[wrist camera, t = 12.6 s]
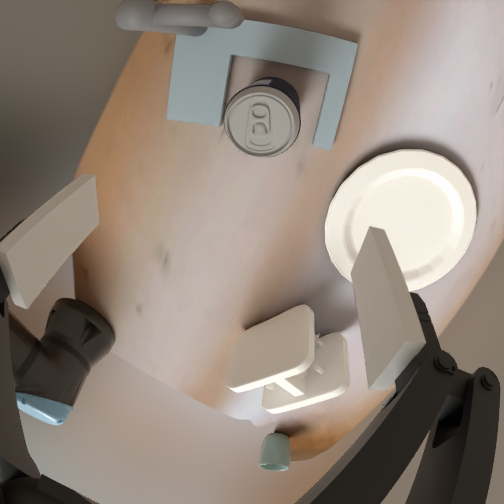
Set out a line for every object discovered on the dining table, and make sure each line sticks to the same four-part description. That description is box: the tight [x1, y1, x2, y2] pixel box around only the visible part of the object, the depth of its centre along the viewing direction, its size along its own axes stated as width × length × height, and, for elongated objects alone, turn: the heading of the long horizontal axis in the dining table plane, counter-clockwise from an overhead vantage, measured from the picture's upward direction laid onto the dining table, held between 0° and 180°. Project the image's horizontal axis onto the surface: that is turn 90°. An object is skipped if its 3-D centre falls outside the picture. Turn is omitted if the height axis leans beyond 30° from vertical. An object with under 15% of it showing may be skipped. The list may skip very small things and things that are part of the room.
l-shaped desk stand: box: [115, 0, 358, 150], centre depth 22 cm, size 18×12×17 cm, turn 80°
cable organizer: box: [226, 305, 350, 413], centre depth 46 cm, size 15×11×12 cm
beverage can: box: [224, 77, 301, 158], centre depth 26 cm, size 6×6×12 cm
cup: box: [259, 433, 291, 471], centre depth 72 cm, size 8×8×10 cm
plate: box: [325, 149, 477, 292], centre depth 36 cm, size 21×21×2 cm
